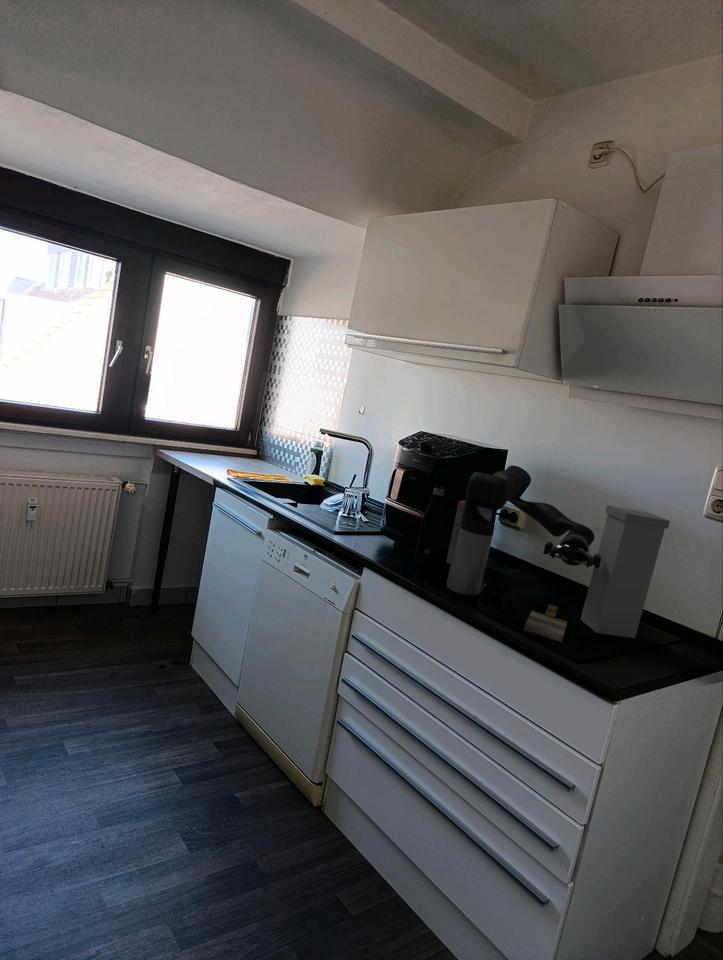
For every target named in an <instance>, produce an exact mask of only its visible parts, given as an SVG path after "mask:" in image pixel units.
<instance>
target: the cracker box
mask: <svg viewBox="0 0 723 960" xmlns="http://www.w3.org/2000/svg"><path fill="white" fill-rule="evenodd" d="M464 505H465V500H459V501H458V502H457V508H456V512H455V518H454V522H453V527H452V531H451V532H452V533H451V538H450V541H449V542H450V543H449V547H448V551H447V556H446V561H445V564H448V565H451V561H452V557H453V553H454V552H455V547H456V543H457V538H458V534H459V529H460V525H461V520H462V515H463V510H464ZM477 509H478V511H479V513H480V514H481V515H482V516H483V517H484V518H486V519H487V520H489V521H490V522H491V520H492V514H493V510H490V509H486V508H482V507H478V506H477Z"/></svg>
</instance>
